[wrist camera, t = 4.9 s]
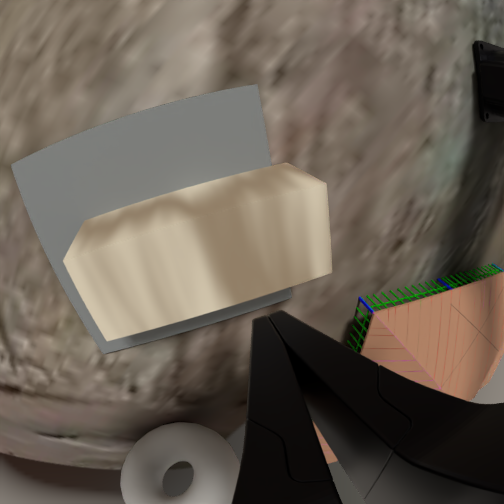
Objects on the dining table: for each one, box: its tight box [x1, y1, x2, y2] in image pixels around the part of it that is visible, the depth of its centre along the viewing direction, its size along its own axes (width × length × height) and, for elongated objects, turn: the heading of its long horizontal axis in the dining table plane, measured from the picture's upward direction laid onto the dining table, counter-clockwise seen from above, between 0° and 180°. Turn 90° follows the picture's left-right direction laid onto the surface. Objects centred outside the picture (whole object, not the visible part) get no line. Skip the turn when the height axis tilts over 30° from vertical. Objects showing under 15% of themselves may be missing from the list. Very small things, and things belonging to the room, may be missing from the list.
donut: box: [120, 422, 240, 504], centre depth 18 cm, size 10×3×10 cm, turn 111°
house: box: [312, 263, 504, 464], centre depth 26 cm, size 23×33×8 cm
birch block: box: [63, 162, 332, 341], centre depth 13 cm, size 4×4×10 cm
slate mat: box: [11, 84, 292, 354], centre depth 15 cm, size 12×12×1 cm
